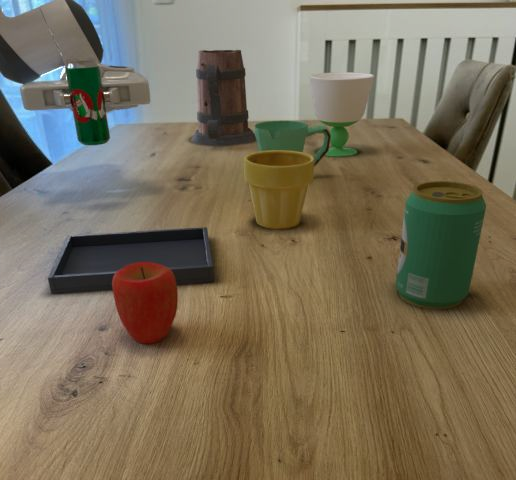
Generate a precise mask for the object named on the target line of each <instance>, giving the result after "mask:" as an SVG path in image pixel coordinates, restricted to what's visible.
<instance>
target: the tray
mask: <svg viewBox="0 0 516 480" xmlns="http://www.w3.org/2000/svg"><path fill="white" fill-rule="evenodd" d="M211 251H212V250H211V243H210V238H209V231H208V227H207V226H203V227H202V226H201V227H184V228H169V229H153V230H137V231H123V232H120V231H119V232H106V233H105V232H104V233H88V234H73V235H67V236H66V237H65V240H64V242H63V244H62V246H61V249H60V251H59V253H58V256H57V257H56V259H55V262H54V263H53V266H52V268H51V270H50V273H49V275H48V276H47V280H48V285H49V289H50V294H51V295H52V294H53V295H54V294H55V295H56V294H69V293H71V294H72V293H83V292H97V291H98V292H99V291H111V290H112V291H113V288H112V281H113V276H114V274H115V273H116V272H117V271H119V270H121V269H122V268H124V267H125V266H127V265H130V264H133V263H139V262H152V263H156V264H160V265H162V266H165V267H167V268H170V269H171V271H172V272H173V274H174V276H175V280H176V285H177V286H180V285H192V284H193V285H194V284H208V283H215V273H214V264H213V263H214V262H213V256H212V252H211Z"/></svg>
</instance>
